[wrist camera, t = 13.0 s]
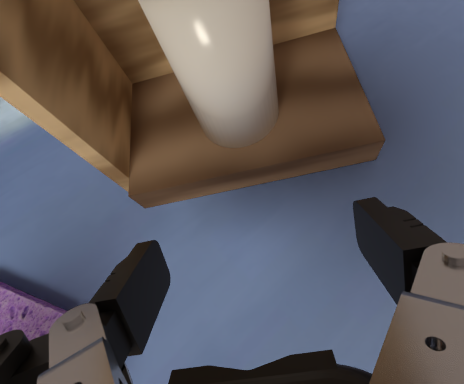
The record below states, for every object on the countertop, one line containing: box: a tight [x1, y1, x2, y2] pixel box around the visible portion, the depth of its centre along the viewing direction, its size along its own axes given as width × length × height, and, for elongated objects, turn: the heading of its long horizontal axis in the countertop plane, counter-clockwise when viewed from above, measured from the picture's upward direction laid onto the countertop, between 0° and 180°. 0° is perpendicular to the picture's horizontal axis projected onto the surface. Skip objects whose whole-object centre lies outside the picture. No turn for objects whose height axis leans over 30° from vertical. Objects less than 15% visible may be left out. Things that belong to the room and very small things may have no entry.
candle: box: [138, 0, 279, 148], centre depth 17 cm, size 6×6×10 cm
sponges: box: [0, 282, 67, 341], centre depth 20 cm, size 7×13×2 cm, turn 73°
